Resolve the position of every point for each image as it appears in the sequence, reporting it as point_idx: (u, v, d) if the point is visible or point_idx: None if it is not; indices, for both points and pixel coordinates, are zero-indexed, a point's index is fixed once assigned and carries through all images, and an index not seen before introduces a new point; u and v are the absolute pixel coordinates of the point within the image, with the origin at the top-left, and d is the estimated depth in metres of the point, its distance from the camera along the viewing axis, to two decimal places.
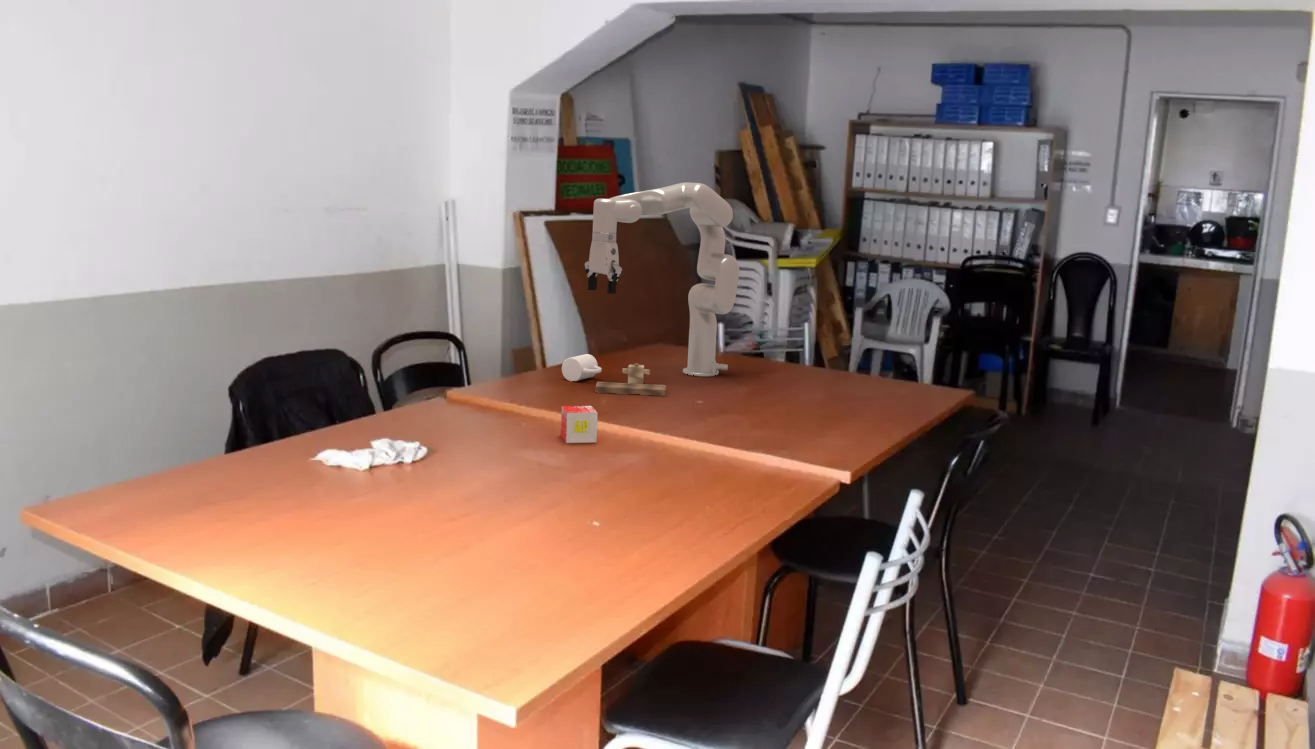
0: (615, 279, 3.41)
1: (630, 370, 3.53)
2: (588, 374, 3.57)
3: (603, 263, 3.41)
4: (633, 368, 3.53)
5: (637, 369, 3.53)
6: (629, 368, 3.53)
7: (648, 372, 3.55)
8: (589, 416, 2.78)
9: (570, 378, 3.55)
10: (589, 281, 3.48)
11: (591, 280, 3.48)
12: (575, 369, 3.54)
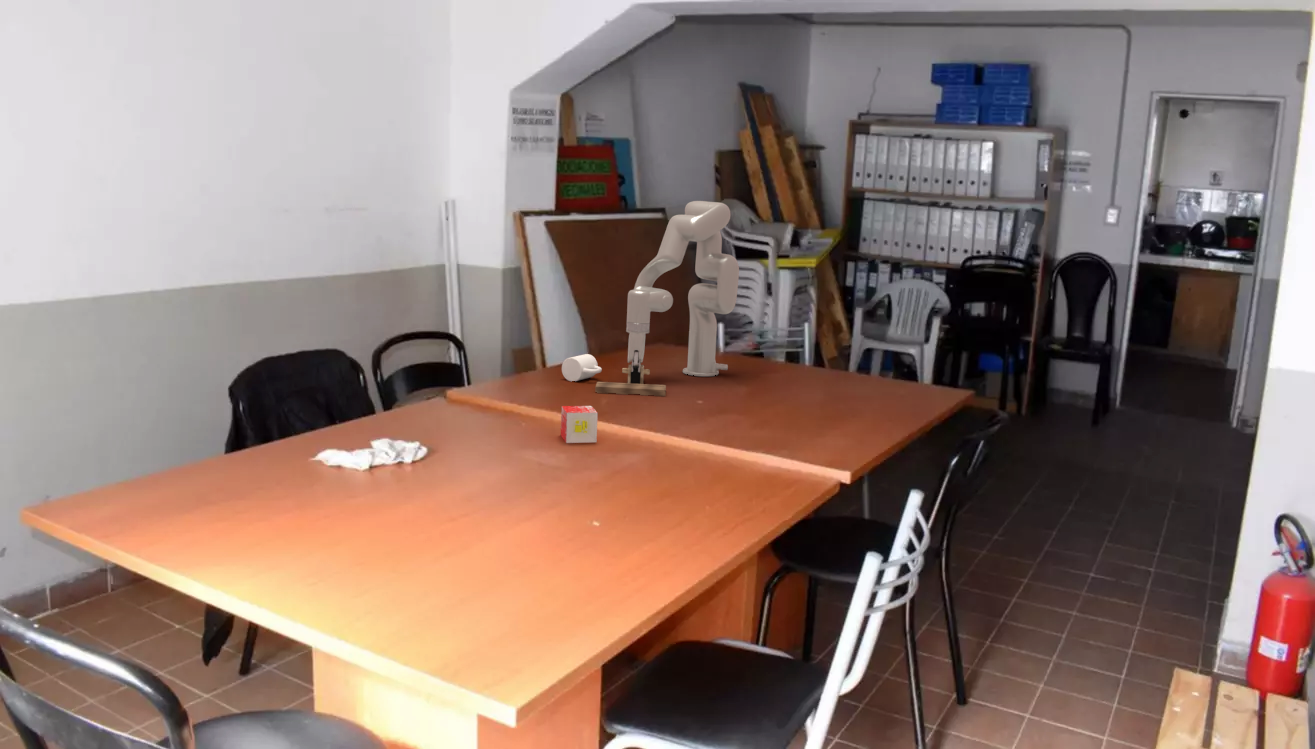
0: None
1: (630, 370, 3.53)
2: (588, 374, 3.57)
3: None
4: None
5: None
6: (629, 368, 3.53)
7: (648, 372, 3.55)
8: (589, 416, 2.78)
9: (570, 378, 3.55)
10: None
11: None
12: (575, 369, 3.54)
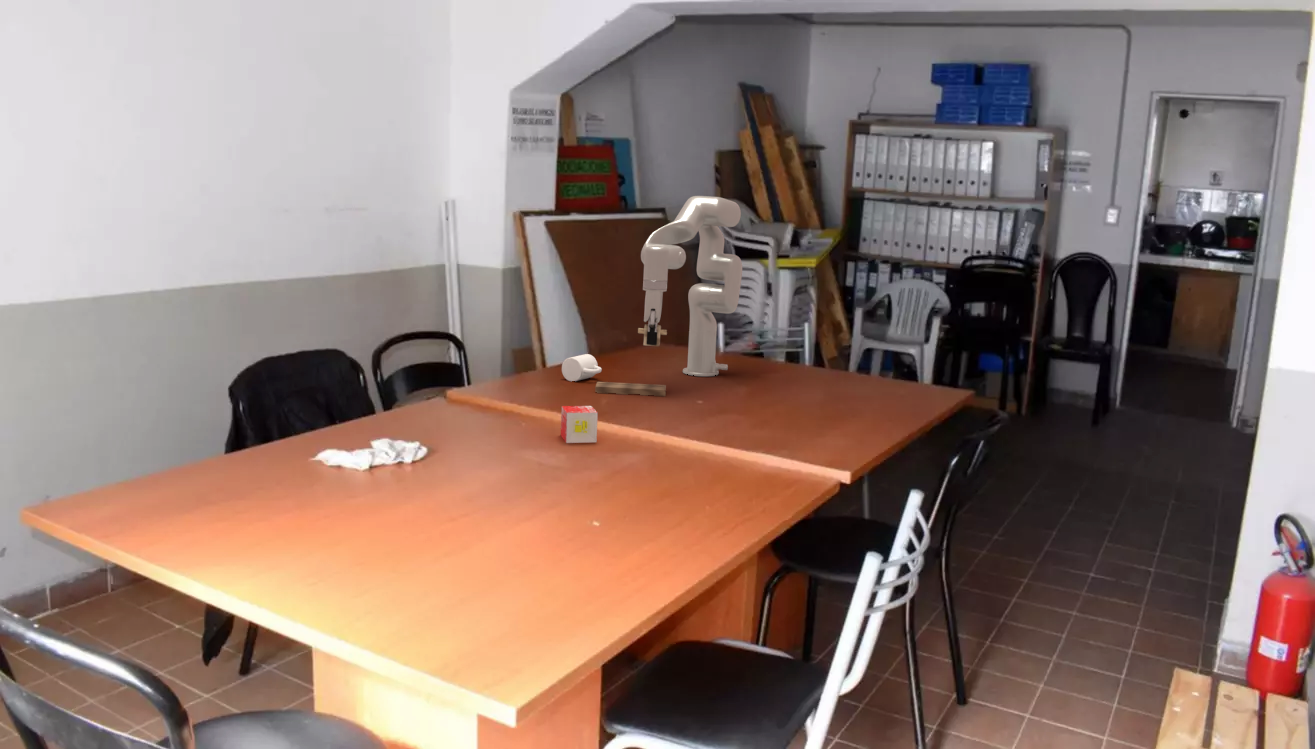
0: None
1: (646, 330, 3.39)
2: (588, 374, 3.57)
3: None
4: None
5: None
6: (645, 328, 3.39)
7: (665, 332, 3.40)
8: (589, 416, 2.78)
9: (570, 378, 3.55)
10: None
11: None
12: (575, 369, 3.54)
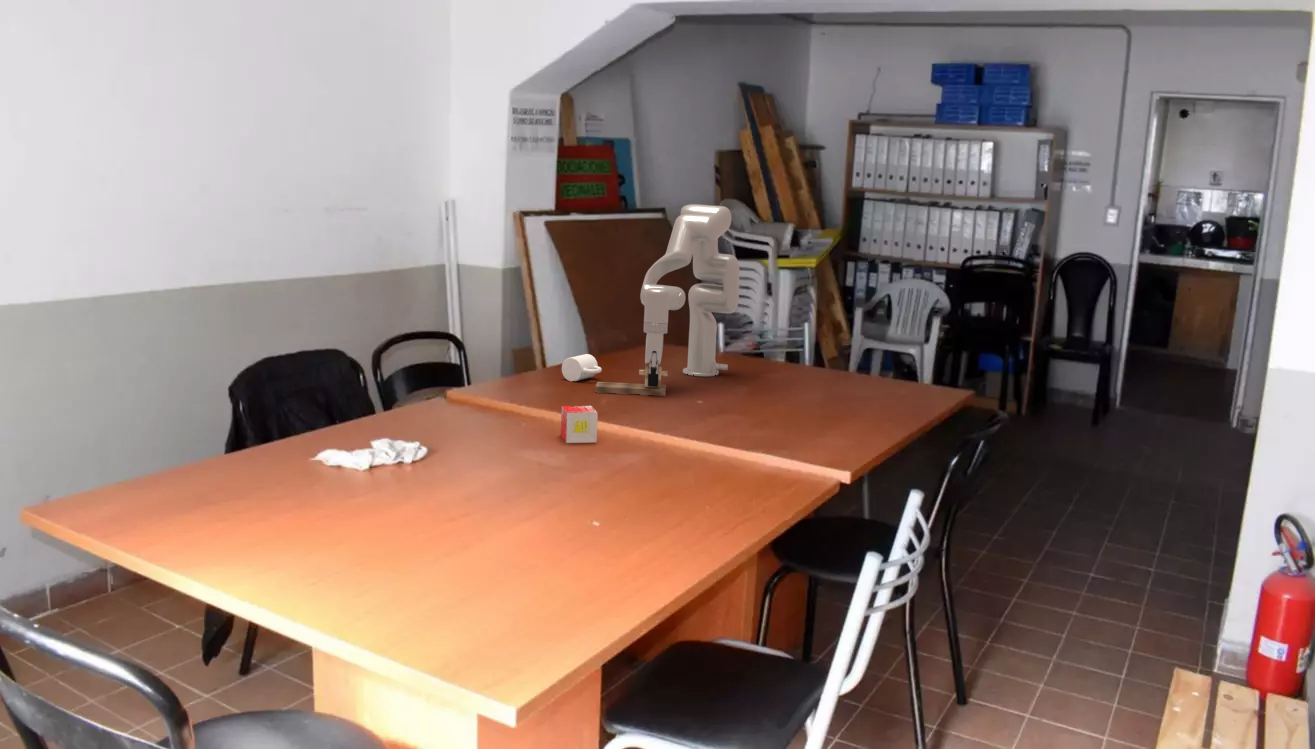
0: None
1: (647, 372, 3.39)
2: (588, 374, 3.57)
3: None
4: None
5: None
6: (646, 369, 3.39)
7: (666, 374, 3.41)
8: (589, 416, 2.78)
9: (570, 378, 3.55)
10: None
11: None
12: (575, 369, 3.54)
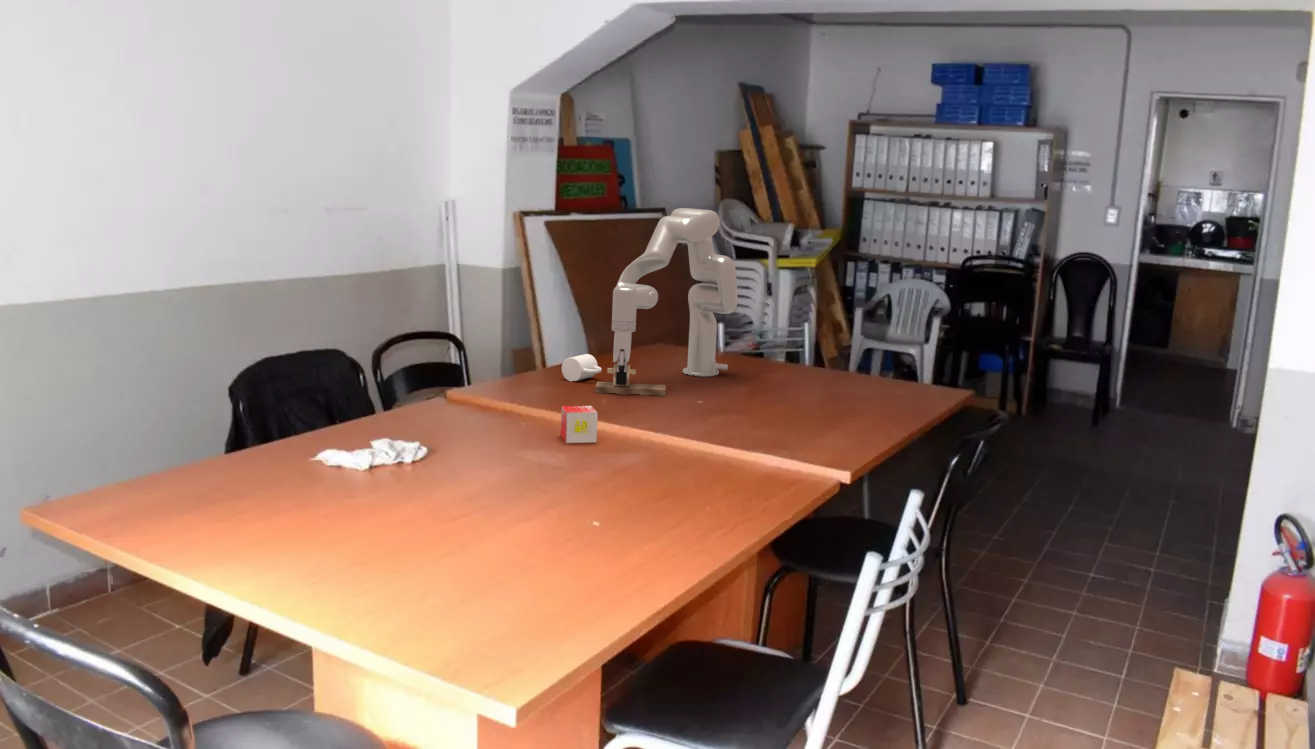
0: None
1: (615, 370, 3.39)
2: (588, 374, 3.57)
3: None
4: None
5: None
6: (614, 368, 3.39)
7: (634, 372, 3.41)
8: (589, 416, 2.78)
9: (570, 378, 3.55)
10: None
11: None
12: (575, 369, 3.54)
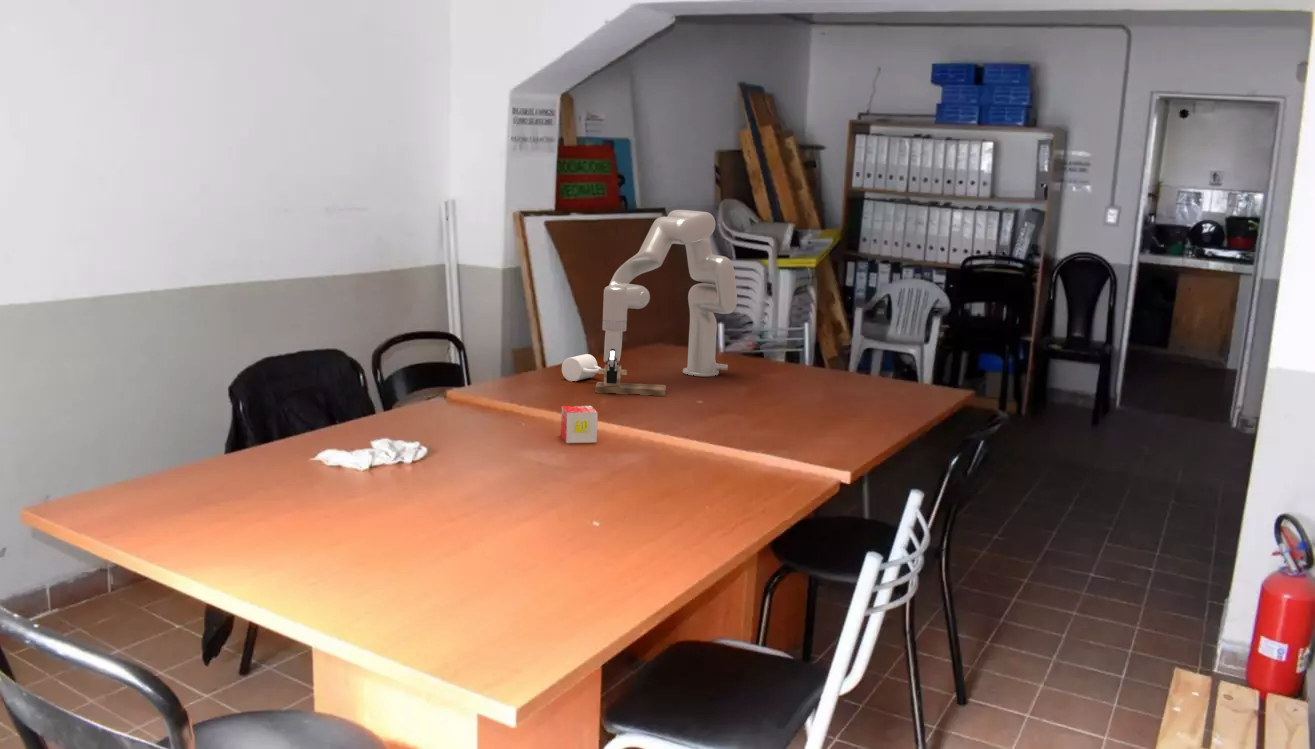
0: None
1: (606, 370, 3.39)
2: (588, 374, 3.57)
3: None
4: None
5: None
6: (605, 368, 3.39)
7: (625, 372, 3.41)
8: (589, 416, 2.78)
9: (570, 378, 3.55)
10: None
11: None
12: (575, 369, 3.54)
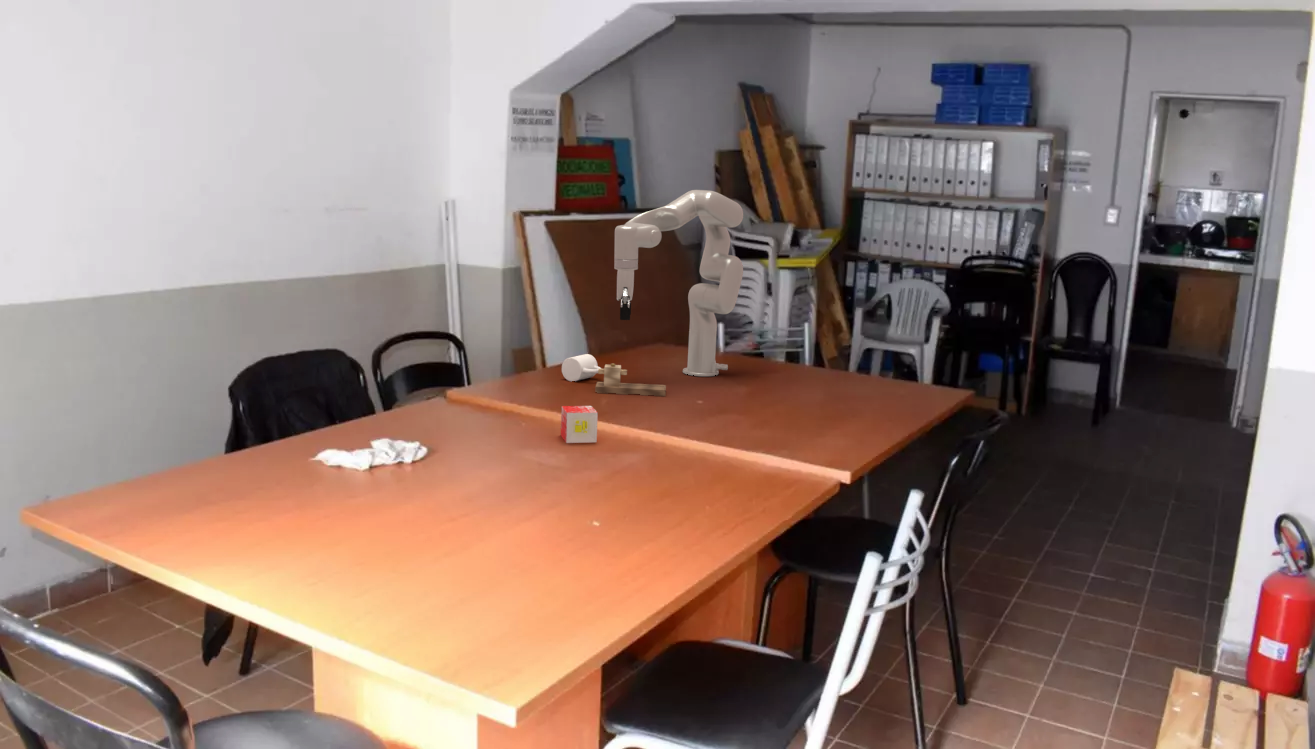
0: None
1: (606, 370, 3.39)
2: (588, 374, 3.57)
3: None
4: (609, 368, 3.39)
5: (613, 369, 3.39)
6: (605, 368, 3.39)
7: (625, 372, 3.41)
8: (589, 416, 2.78)
9: (570, 378, 3.55)
10: None
11: None
12: (575, 369, 3.54)
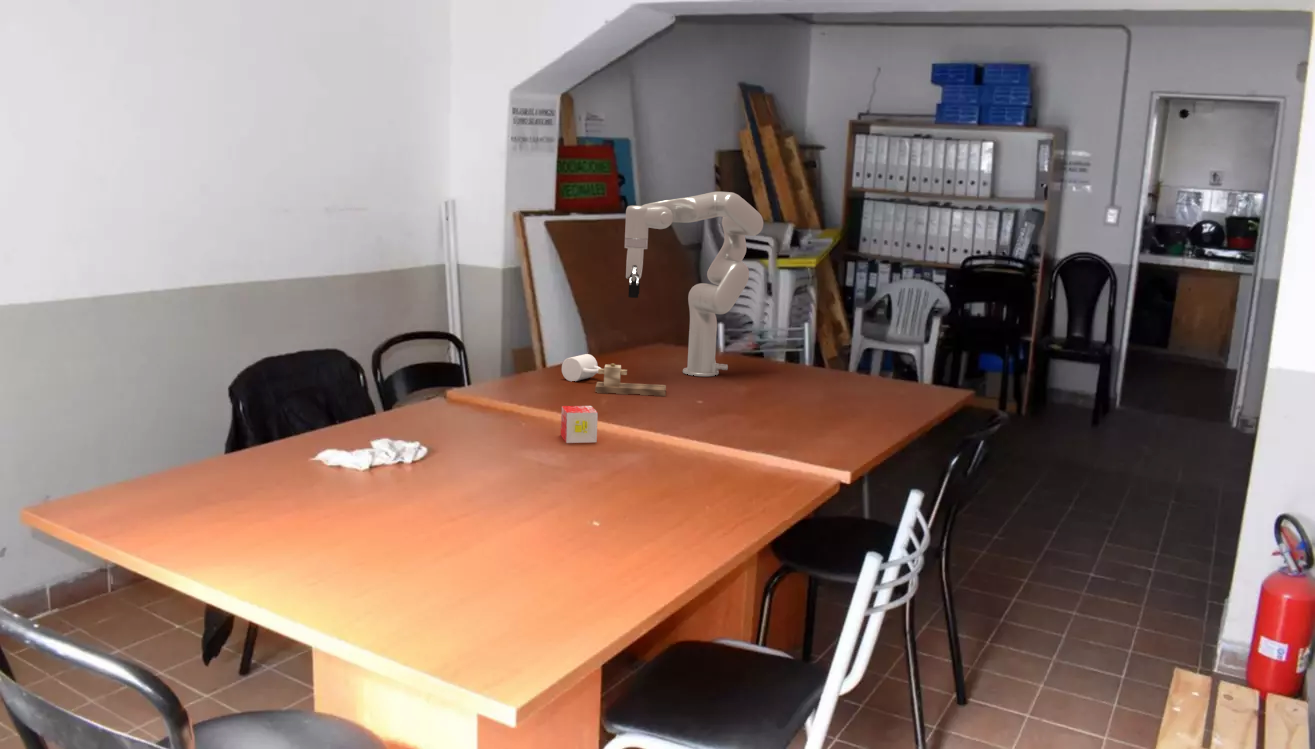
0: None
1: (606, 370, 3.39)
2: (588, 374, 3.57)
3: None
4: (609, 368, 3.39)
5: (613, 369, 3.39)
6: (605, 368, 3.39)
7: (625, 372, 3.41)
8: (589, 416, 2.78)
9: (570, 378, 3.55)
10: None
11: None
12: (575, 369, 3.54)
